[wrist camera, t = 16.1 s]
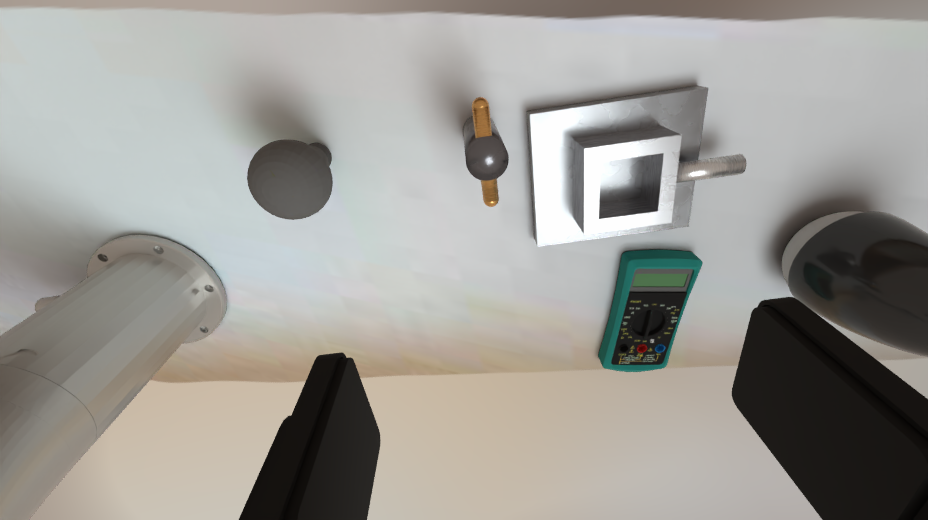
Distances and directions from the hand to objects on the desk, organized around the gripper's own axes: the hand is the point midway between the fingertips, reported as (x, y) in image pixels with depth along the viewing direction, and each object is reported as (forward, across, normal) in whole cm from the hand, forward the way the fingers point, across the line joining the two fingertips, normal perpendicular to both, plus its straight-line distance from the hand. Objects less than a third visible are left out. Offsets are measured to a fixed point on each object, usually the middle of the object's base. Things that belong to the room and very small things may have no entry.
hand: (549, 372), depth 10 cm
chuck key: (+28, 0, 0) cm, 28 cm away
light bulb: (+28, +14, 0) cm, 32 cm away
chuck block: (+28, -12, +5) cm, 31 cm away
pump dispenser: (+28, -32, +16) cm, 46 cm away
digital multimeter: (+29, -15, +21) cm, 39 cm away
